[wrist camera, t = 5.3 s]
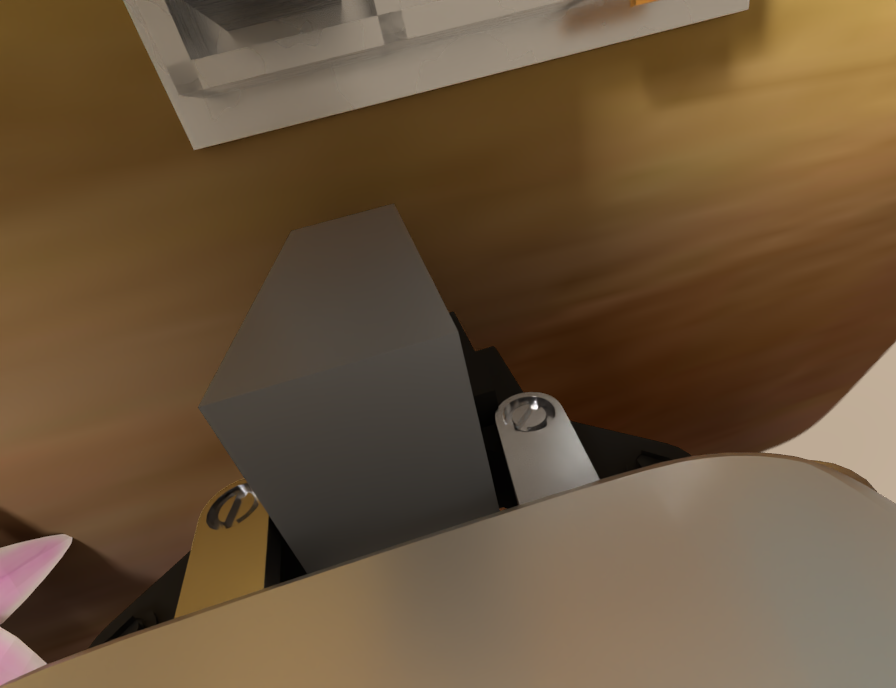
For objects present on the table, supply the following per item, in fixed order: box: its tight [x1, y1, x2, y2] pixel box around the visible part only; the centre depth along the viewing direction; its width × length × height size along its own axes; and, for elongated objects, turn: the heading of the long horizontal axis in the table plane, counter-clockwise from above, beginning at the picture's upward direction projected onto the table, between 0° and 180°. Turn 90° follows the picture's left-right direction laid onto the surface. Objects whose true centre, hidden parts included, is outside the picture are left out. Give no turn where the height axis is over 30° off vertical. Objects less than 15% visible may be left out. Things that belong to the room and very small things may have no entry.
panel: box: [198, 204, 500, 574], centre depth 11 cm, size 8×3×9 cm, turn 13°
